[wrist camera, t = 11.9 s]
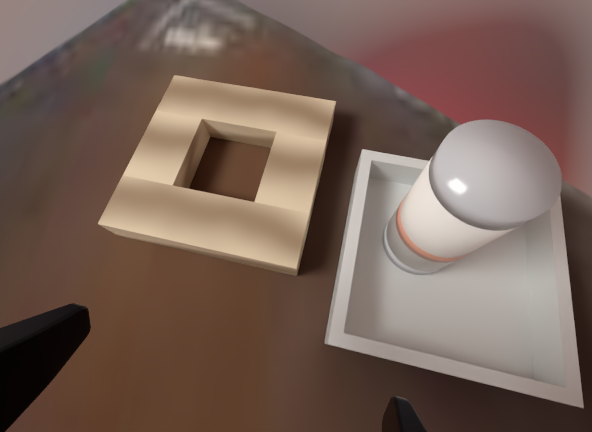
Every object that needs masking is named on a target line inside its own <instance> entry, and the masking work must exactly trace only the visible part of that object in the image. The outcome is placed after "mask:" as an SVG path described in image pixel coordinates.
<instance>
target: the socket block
mask: <svg viewBox="0 0 592 432" xmlns="http://www.w3.org/2000/svg"><path fill="white" fill-rule="evenodd" d="M335 103H336V101H330V100H324V99H318V98H312V97H306V96H299V95H293V94H287V93H281V92H275V91H268V90H262V89H256V88H250V87H244V86H238V85H231V84H225V83H219V82H213V81H207V80H200V79H194V78H188V77H182V76H176V75H174V77H173V79H172V81H171V83H170V85H169V87H168V89H167V91H166V93H165V95H164V97H163V99H162V101H161V103H160V104H159V106H158V108H157V110H156V112H155V114H154V116H153V118H152V120H151V122H150V124H149V126H148V128H147V130H146V132H145V133H144V135H143V137H142V139H141V141H140V143H139V145H138V147H137V149H136V151H135V153H134V155H133V157H132V159H131V161H130V163H129V164H128V166H127V168H126V170H125V172H124V174H123V176H122V178H121V180H120V182H119V184H118V186H117V188H116V190H115V192H114V193H113V195H112V197H111V199H110V201H109V203H108V205H107V207H106V209H105V211H104V213H103V215H102V217H101V219H100V221H99V222H98V224H99V225H101V226H102V227H104V228H106V229H108V230H109V231H111V232H113V233H115V234H116V235H119V236H124V237H128V238H133V239H137V240H141V241H146V242H150V243H154V244H159V245H163V246H168V247H172V248H176V249H181V250H185V251H189V252H194V253H198V254H203V255H207V256H211V257H216V258H220V259H224V260H229V261H233V262H238V263H242V264H246V265H251V266H255V267H259V268H264V269H268V270H273V271H277V272H281V273H286V274H290V275H294V276H297V275H298V270H299V266H300V262H301V257H302V253H303V249H304V244H305V240H306V236H307V231H308V227H309V223H310V218H311V214H312V210H313V206H314V201H315V197H316V193H317V188H318V184H319V180H320V175H321V171H322V167H323V162H324V158H325V154H326V149H327V145H328V141H329V136H330V132H331V128H332V123H333V118H334V110H335ZM210 137H213V138H219V139H224V140H230V141H235V142H240V143H246V144H251V145H257V146H262V147H268V148H271V151H270V154H269V158H268V161H267V164H266V167H265V170H264V174H263V177H262V180H261V183H260V186H259V189H258V193H257V196H256V199H255V202H251V201H246V200H241V199H236V198H231V197H227V196H222V195H217V194H212V193H207V192H202V191H197V190H192V189H189V187H190V185H191V182H192V180H193V177H194V175H195V173H196V170H197V168H198V165H199V163H200V160H201V158H202V156H203V153H204V151H205V148H206V146H207V144H208V141H209V139H210Z"/></svg>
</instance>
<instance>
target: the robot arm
mask: <svg viewBox="0 0 592 432" xmlns="http://www.w3.org/2000/svg"><path fill="white" fill-rule="evenodd" d="M90 328H91V325H90V318H89V311H88V308H87V307H86V306H83V305H79V304H76V303H72V304H68V305H66V306H63V307H60V308H57V309H54V310H51V311H48V312H45V313H42V314H40V315H37V316H34V317H31V318H28V319H25V320H22V321H19V322H16V323H14V324H11V325H8V326H5V327H2V328H0V432H5V431H6V430H7V429H8V428H9V427H10V426H11V425H12V424H13V423H14V422H15V420H16V419H17V418H18V417H19V416H20V415H21V414H22V413H23V412H24V411H25V410H26V409H27V408H28V406H29V405H30V404H31V403H32V402H33V401H34V400H35V399H36V398H37V397H38V396H39V395H40V394H41V392H42V391H43V390H44V389H45V388H46V387H47V386H48V385H49V383H50V382H51V381H52V380H53V379H54V377H55V376H56V375H57V374H58V372H59V371H60V370H61V369H62V367H63V366H64V365H65V364H66V362H67V361H68V360H69V359H70V357H71V356H72V355H73V353H74V352H75V351H76V350H77V348H78V347H79V346H80V345H81V343H82V342H83V341H84V340H85V338H86V337H87V336H88V334H89V332H90ZM382 432H427V430H426V429H425V427H424V425H423V423H422V422H421V420H420V418H419V416H418V415H417V413H416V411H415V410H414V408H413V406H412V404H411V403H410V402H409V400H407V399H405V398H401V397H398V396H392V397H391V399H390V401H389V404H388V406H387V408H386V411H385V413H384V416H383V421H382Z"/></svg>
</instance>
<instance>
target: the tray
mask: <svg viewBox="0 0 592 432" xmlns="http://www.w3.org/2000/svg"><path fill="white" fill-rule="evenodd" d="M428 162H429V161H425V160H420V159H414V158H408V157H403V156H397V155H392V154H386V153H380V152H375V151H369V150H363V149H362V152H361V155H360V159H359V162H358V165H357V169H356V172H355V176H354V182H353V187H352V193H351V198H350V204H349V209H348V215H347V220H346V226H345V231H344V237H343V242H342V248H341V253H340V259H339V264H338V270H337V275H336V281H335V286H334V292H333V297H332V303H331V308H330V314H329V319H328V325H327V330H326V336H325V341H324V344H328V345H332V346H336V347H340V348H344V349H348V350H352V351H356V352H360V353H364V354H368V355H371V356H375V357H379V358H383V359H387V360H391V361H395V362H399V363H403V364H407V365H411V366H415V367H419V368H423V369H427V370H431V371H435V372H439V373H443V374H447V375H451V376H455V377H459V378H463V379H467V380H471V381H475V382H479V383H483V384H487V385H491V386H495V387H499V388H503V389H507V390H511V391H515V392H519V393H523V394H527V395H531V396H535V397H539V398H543V399H547V400H551V401H555V402H560V403H564V404H568V405H572V406H576V407H580V408H584V405H583V396H582V387H581V378H580V369H579V360H578V351H577V342H576V333H575V324H574V315H573V306H572V297H571V288H570V279H569V270H568V261H567V252H566V243H565V234H564V225H563V216H562V207H561V198H560V195H559V197H558V199H557V201H556V202H555V204H554V205H553V206H552V207H551V208H550V209H549V210H548V211H546V212H545V213H543V214H541V215H539V216H538V217H536V218H534V219H532V220H530V221H528V222H527V223H525V224H523V225H521V226H519V227H517V228H515V229H514V230H512V231H510V232H508V233H506V234H504V235H503V236H501V237H499V238H497V239H495V240H493V241H492V242H490V243H488V244H486V245H484V246H482V247H481V248H479V249H477V250H475V251H473V252H472V253H470V254H468V255H467V256H465V257H463V258H461V259H459V260H457V261H455V262H453V263H451V264H449V265H448V266H446V267H444V268H442V269H440V270H438V271H436V272H434V273H432V274H428V275H414V274H410V273H407V272H405V271H403V270H401V269H400V268H398V267H397V266H396V265H394V264H393V263H392V261H391V260H390V259H389V258H388V256H387V254H386V252H385V250H384V247H383V242H382V236H383V231H384V228H385V226H386V224H387V223H388V221H389V220H390V218H391V217H392V215H393V214H394V212H395V211H396V209H397V208H398V207H399V205H400V203H401V202H402V200H403V199H404V197H405V196H406V194H407V193H408V192H409V190H410V189H411V187H412V186H413V185H414V183H415V182H416V180H417V179H418V177H419V176H420V174H421V173H422V171H423V170H424V168H425V167H426V165H427V164H428Z"/></svg>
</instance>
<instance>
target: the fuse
mask: <svg viewBox="0 0 592 432" xmlns="http://www.w3.org/2000/svg"><path fill="white" fill-rule="evenodd" d="M561 188H562V175H561V171H560V167H559V165H558V162H557V160H556V159H555V157H554V155H553V154H552V152H551V151H550V150H549V149H548V148H547V146H546V145H545V144H544V143H543V142H542V141H541V140H539V139H538V138H537V137H535V136H534V135H533V134H531V133H530V132H528V131H526V130H524V129H522V128H520V127H518V126H516V125H513V124H510V123H507V122H502V121H497V120H476V121H471V122H468V123H465V124H462V125H460V126H458V127H456V128H455V129H454V130H452V131H451V132H450V133H449V134H448V135H447V136H446V138H445V139H444V140H443V142H442V143H441V145H440V146H439V148H438V149H437V151H436V152H435V154H434V155H433V157H432V158H431V160H430V161H429V162H428V164H427V165H426V167H425V168H424V170H423V171H422V173H421V174H420V176H419V177H418V179H417V180H416V182H415V183H414V185H413V186H412V187H411V189H410V190H409V192H408V193H407V194H406V196H405V197H404V199H403V200H402V202H401V203H400V205H399V207H398V208H397V209H396V211H395V212H394V214H393V215H392V217H391V218H390V220H389V221H388V223H387V224H386V226H385V228H384V231H383V236H382V242H383V247H384V250H385V252H386V254H387V256H388V258H389V259H390V260H391V261H392V263H393V264H394V265H396V266H397V267H398V268H400V269H401V270H403V271H405V272H407V273H410V274H414V275H428V274H432V273H434V272H436V271H438V270H440V269H442V268H444V267H446V266H448V265H449V264H451V263H453V262H455V261H457V260H459V259H461V258H463V257H465V256H467V255H468V254H470V253H472V252H473V251H475V250H477V249H479V248H481V247H482V246H484V245H486V244H488V243H490V242H492V241H493V240H495V239H497V238H499V237H501V236H503V235H504V234H506V233H508V232H510V231H512V230H514V229H515V228H517V227H519V226H521V225H523V224H525V223H527V222H528V221H530V220H532V219H534V218H536V217H538V216H539V215H541V214H543V213H545V212H546V211H548V210H549V209H550V208H551V207H552V206H553V205H554V204H555V202H556V201H557V199H558V197H559V195H560V192H561Z"/></svg>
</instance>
